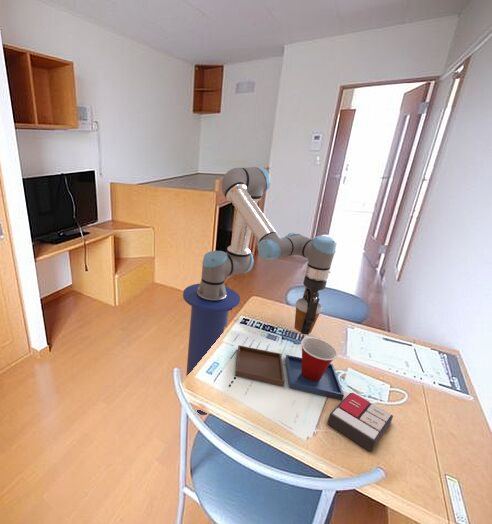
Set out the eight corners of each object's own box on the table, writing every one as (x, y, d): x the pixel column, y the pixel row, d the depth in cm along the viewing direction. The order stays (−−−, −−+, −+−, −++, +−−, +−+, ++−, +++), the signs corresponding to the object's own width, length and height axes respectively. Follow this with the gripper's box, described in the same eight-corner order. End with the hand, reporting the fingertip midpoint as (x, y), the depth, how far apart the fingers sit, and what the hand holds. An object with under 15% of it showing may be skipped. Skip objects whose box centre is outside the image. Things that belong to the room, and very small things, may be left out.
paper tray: (237, 349, 118) (238, 345, 117) (279, 358, 113) (280, 353, 113) (235, 375, 105) (236, 370, 104) (283, 386, 100) (284, 381, 99)
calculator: (394, 413, 86) (376, 440, 77) (389, 425, 87) (371, 452, 79) (351, 389, 94) (330, 411, 85) (347, 400, 95) (326, 423, 87)
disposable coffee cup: (284, 324, 127) (290, 299, 122) (303, 321, 129) (309, 296, 125) (302, 337, 118) (309, 311, 114) (321, 333, 121) (328, 307, 117)
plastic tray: (285, 359, 113) (286, 354, 112) (331, 368, 108) (332, 363, 108) (289, 388, 100) (290, 382, 99) (342, 400, 95) (344, 394, 94)
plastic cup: (310, 390, 98) (318, 360, 93) (287, 368, 107) (293, 339, 103) (337, 384, 100) (346, 354, 96) (312, 363, 110) (319, 335, 106)
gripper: (333, 290, 105) (318, 344, 113) (321, 268, 123) (309, 316, 132) (309, 287, 107) (296, 340, 116) (301, 265, 125) (290, 313, 134)
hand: (303, 327), depth 124 cm, fingers closed on disposable coffee cup, 8 cm apart
